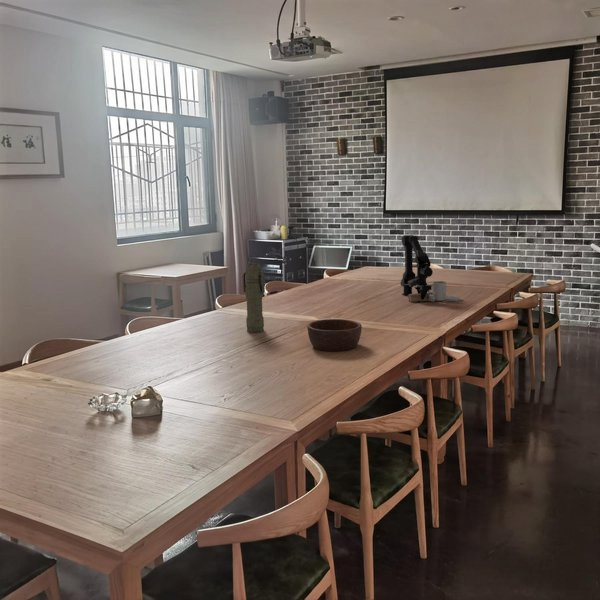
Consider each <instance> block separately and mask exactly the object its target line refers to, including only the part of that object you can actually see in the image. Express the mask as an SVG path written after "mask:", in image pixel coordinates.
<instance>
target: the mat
mask: <svg viewBox="0 0 600 600" xmlns="http://www.w3.org/2000/svg"><path fill="white" fill-rule="evenodd" d="M463 300H464V299H462V298H460V297H457V296H455V295H449V296H447V295H446V300H442V302H441V303H447V302H446V301H456V302H464V301H463Z"/></svg>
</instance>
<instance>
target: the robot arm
mask: <svg viewBox="0 0 600 600" xmlns="http://www.w3.org/2000/svg"><path fill="white" fill-rule="evenodd" d="M401 243H402V244H401V245H402V246H403V248H404V267H405V268H404V273H403V274H402V277H401V280H400V286H401V287H403V292H402V293H401V295H403V296H405V297H406V296H408V297H409V294H413V287H414V289H415V290H416V292H417V293H421V300H423V299H424V297H425V295H426V293H428V290H429V291H431V290H432V289H433V288H432V287H431V286H430V285H429V284H428V282H427V279H428V278H430V277H432V275H433V273H434V272H433V269H432V268H431V260H430V258H429V256H428V254H427V252H425V251H423V248H422V246H421V244H420V241H419V237H418V236H417V235H414V234H404V235H403V236H402V237H401ZM413 251H414V254H415V257H414V260H415V263H416V267H417V268H416V273H415V272H414V271H413V267H414V266H413Z"/></svg>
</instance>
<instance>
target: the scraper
mask: <svg viewBox="0 0 600 600" xmlns="http://www.w3.org/2000/svg"><path fill="white" fill-rule="evenodd" d="M417 301H420V302H430V301H431V303H432V302H433V303H435V302H436V300H435V296H434V295H431V294H429V293H428V292H427V293H426V295H425V297H424V299H423V300H421V293H418V292H417V293H412V294H409V296H408V302H409V303H418V302H417Z"/></svg>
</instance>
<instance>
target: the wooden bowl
mask: <svg viewBox="0 0 600 600" xmlns="http://www.w3.org/2000/svg"><path fill="white" fill-rule="evenodd" d="M362 327H363V326H362V324H361V323H360V322H359V321H356V320H352V319H351V320H350V319H342V318H341V319H340V318H328V319H320V320H319V319H318V320H314V321H311V322H310V323H309V322H308V324H307V334H308V338H309V341H310V344H311V345H312V347H313V348H314V349H316V350H319V351H323V352H345V351H349V350H352V349H354V347H355V348H356V347H357V345H358V344H359V342H360V339H361V335H362V329H363V328H362Z"/></svg>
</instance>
